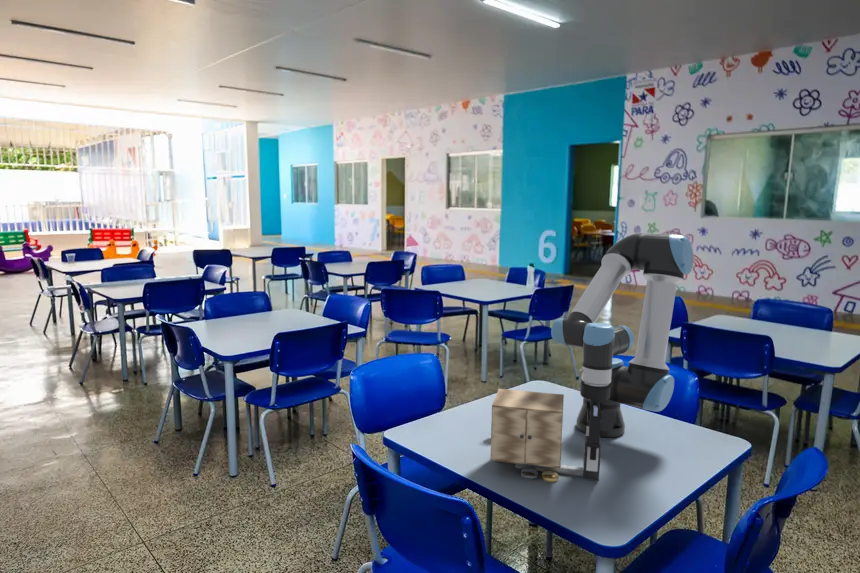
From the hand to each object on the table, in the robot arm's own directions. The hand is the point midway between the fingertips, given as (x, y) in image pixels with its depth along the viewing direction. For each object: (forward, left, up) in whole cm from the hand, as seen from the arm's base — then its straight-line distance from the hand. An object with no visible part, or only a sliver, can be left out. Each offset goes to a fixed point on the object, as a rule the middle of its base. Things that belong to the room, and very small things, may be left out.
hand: (590, 459), depth 149 cm
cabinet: (+17, +1, -5) cm, 18 cm away
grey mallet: (+9, 0, -5) cm, 10 cm away
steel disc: (+16, +4, -5) cm, 17 cm away
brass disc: (+10, +4, -5) cm, 12 cm away
